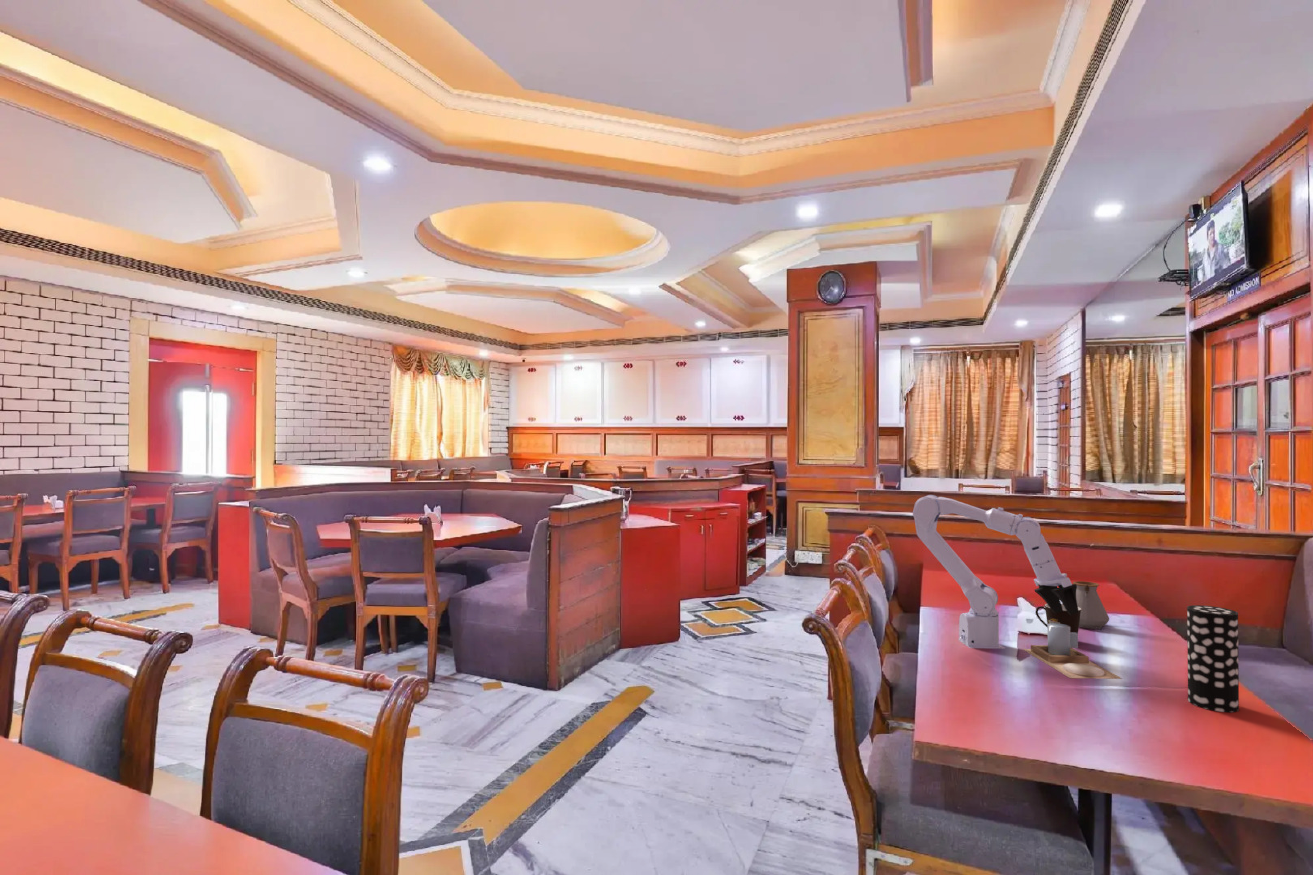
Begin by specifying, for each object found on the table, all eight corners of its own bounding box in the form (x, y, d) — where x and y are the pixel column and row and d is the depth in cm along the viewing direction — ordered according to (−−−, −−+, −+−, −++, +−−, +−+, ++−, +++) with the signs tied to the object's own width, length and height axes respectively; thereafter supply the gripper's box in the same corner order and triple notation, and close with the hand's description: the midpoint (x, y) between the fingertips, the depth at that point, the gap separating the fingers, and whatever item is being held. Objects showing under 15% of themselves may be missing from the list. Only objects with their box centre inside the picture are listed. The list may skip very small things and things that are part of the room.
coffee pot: (1064, 618, 211) (1064, 571, 211) (1108, 623, 205) (1108, 574, 205) (1063, 634, 193) (1063, 583, 193) (1111, 641, 187) (1111, 587, 187)
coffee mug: (1088, 647, 181) (1088, 610, 181) (1056, 647, 181) (1056, 610, 181) (1063, 635, 193) (1062, 600, 193) (1032, 635, 193) (1032, 600, 193)
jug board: (1069, 680, 156) (1069, 670, 156) (1022, 651, 178) (1022, 642, 178) (1122, 681, 156) (1122, 671, 156) (1068, 651, 177) (1068, 643, 178)
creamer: (1054, 660, 169) (1054, 628, 169) (1043, 653, 174) (1043, 623, 174) (1082, 660, 169) (1082, 628, 169) (1071, 654, 174) (1071, 623, 174)
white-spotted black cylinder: (1230, 700, 144) (1230, 607, 144) (1245, 715, 136) (1244, 616, 136) (1182, 694, 147) (1182, 603, 147) (1194, 708, 140) (1193, 612, 140)
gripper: (1072, 556, 169) (1097, 609, 166) (1043, 557, 183) (1065, 606, 180) (1046, 565, 169) (1070, 618, 166) (1019, 566, 183) (1041, 614, 180)
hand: (1066, 612), depth 173 cm, fingers open, 7 cm apart
